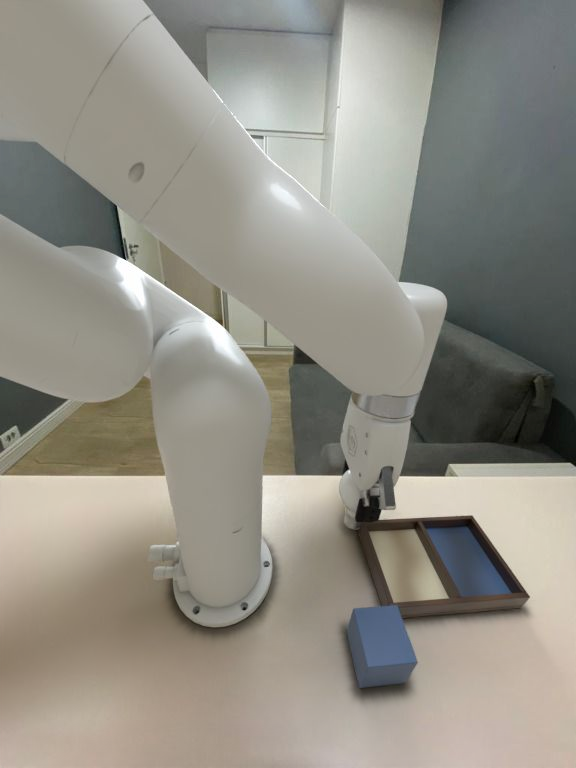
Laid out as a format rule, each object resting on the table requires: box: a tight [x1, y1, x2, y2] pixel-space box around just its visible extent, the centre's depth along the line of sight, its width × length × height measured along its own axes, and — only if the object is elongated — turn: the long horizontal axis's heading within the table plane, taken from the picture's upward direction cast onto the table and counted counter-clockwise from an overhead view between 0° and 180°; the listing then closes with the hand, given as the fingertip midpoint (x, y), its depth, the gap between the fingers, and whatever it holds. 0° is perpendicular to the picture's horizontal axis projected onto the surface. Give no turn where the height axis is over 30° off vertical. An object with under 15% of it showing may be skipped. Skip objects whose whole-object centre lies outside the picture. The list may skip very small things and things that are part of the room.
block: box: [346, 605, 419, 689], centre depth 33 cm, size 5×5×5 cm
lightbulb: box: [338, 470, 379, 530], centre depth 45 cm, size 6×6×11 cm
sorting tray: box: [357, 515, 531, 619], centre depth 42 cm, size 18×12×3 cm, turn 96°
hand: (358, 497), depth 45 cm, fingers closed on lightbulb, 6 cm apart
